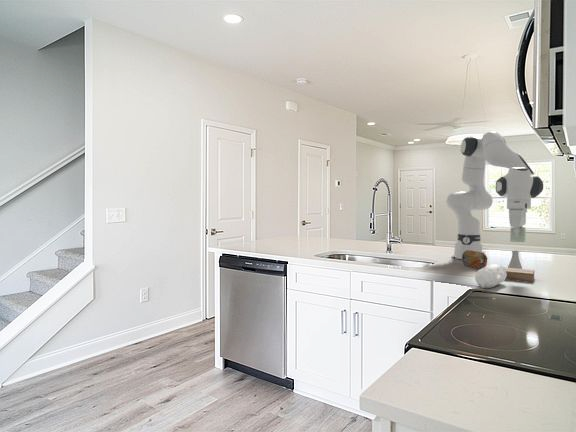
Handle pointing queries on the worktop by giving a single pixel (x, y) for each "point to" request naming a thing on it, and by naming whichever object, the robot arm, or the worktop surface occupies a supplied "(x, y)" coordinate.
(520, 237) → the sage block
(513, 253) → the flask
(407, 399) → the worktop surface
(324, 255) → the worktop surface
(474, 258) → the tin
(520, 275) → the brown block
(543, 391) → the worktop surface
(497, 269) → the white plastic bottle
